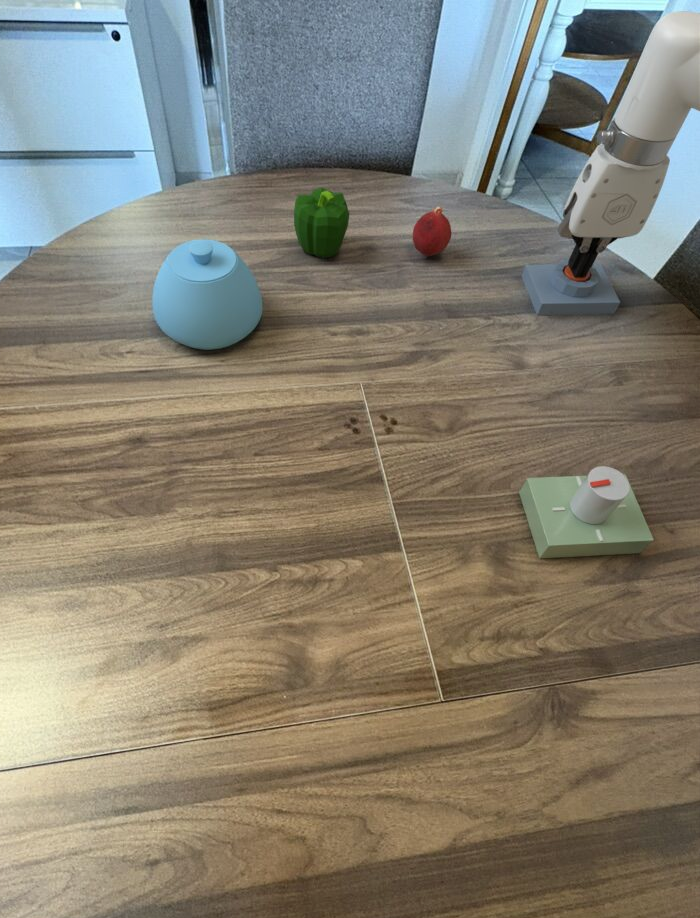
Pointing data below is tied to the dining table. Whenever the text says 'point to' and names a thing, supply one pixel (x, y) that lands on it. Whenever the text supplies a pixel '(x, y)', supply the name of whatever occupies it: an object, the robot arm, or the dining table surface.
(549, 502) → the tap panel
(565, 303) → the button box
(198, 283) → the sugar bowl
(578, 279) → the stop button
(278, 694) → the dining table surface
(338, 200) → the bell pepper
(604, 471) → the tap knob
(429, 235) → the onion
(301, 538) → the dining table surface
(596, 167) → the robot arm
